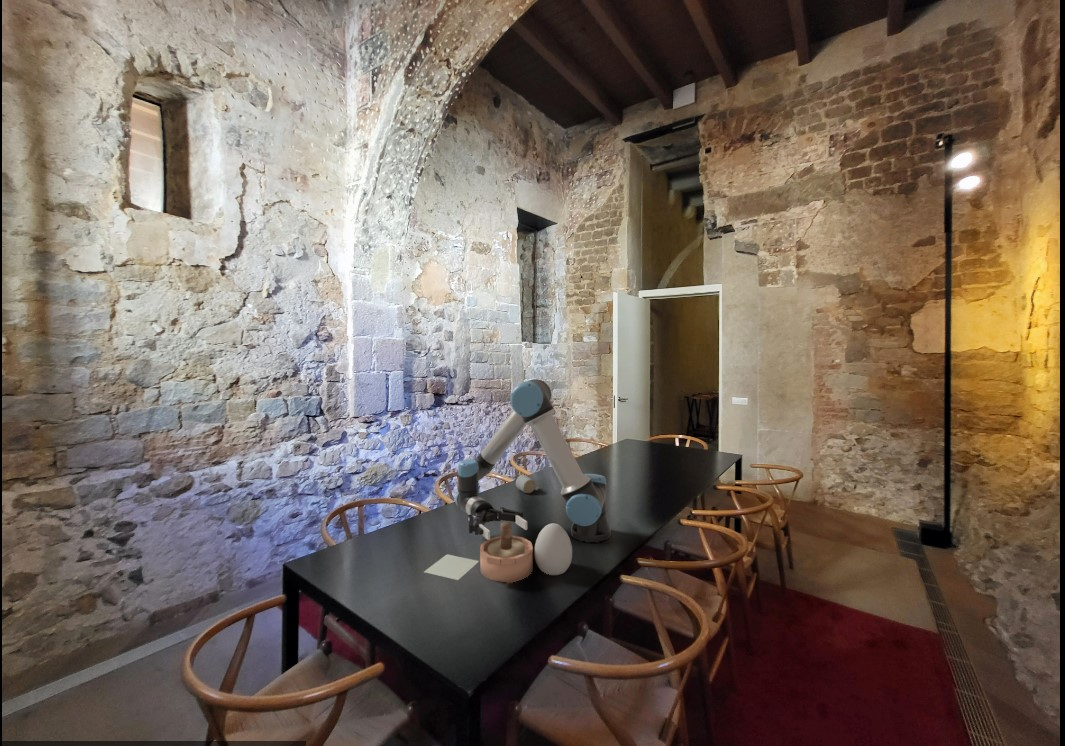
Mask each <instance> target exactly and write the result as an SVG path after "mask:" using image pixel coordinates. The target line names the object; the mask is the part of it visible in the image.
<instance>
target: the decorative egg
mask: <svg viewBox="0 0 1065 746" xmlns="http://www.w3.org/2000/svg"><path fill="white" fill-rule="evenodd" d="M533 553H534V560H535V563H536V566H537V567H538V568H539V570H541V573H543V572H544V574H545V573H546V574H545V575H548V574H549V576H559V575H562V574H564V573H565V572H566V571H567V570H568V569H569V567H570V566H571V563H572V559H573V546H572V542H571V538H570V536H569V534H568V533H567V531H566V530H565V529H564V527H563V526H561V525H560V524H558V523H554V522H553V523H548V524H547V525H545V526H544V527H543V528H542V529H541V530H540V532H539V533H538V535H537V538H536V539H535V544H534V549H533Z"/></svg>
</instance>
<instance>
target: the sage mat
mask: <svg viewBox="0 0 1065 746" xmlns="http://www.w3.org/2000/svg"><path fill="white" fill-rule="evenodd" d="M479 562H480V560H477V559H471V558H466V557H461V556H456V555H452V554H446V555H444V556H443V557H441V558H440V559H439V560H437V561H436V562H435V563H433V564H432V565H431V566H429V567H428V568H426V569H425V570H424V571H423V573H425V574H430V575H434V576H439V577H443V578H448V579H451V580H455V581H459V580H461V578H463V576H465V575H466V574H467V573H468V572H469V571H470V570H472V568H474V567H475V566H476V565H477V564H478V563H479Z"/></svg>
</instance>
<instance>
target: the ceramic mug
mask: <svg viewBox="0 0 1065 746" xmlns="http://www.w3.org/2000/svg"><path fill="white" fill-rule="evenodd" d="M515 487H516V489H518V490H519V491H521V492H522V493H524V494H532V493H533V492H534V491H538V490H539V486H537V485H536V482H535V481H534V480H533V479H532V478H531V477H529V476H527V475H526V474H521V475H519V476H518V477H517V478H516V480H515Z"/></svg>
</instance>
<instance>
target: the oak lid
mask: <svg viewBox="0 0 1065 746" xmlns="http://www.w3.org/2000/svg"><path fill="white" fill-rule="evenodd" d="M512 528H513V527H512V523H511V521H504V522H501V523H500V529H499V530H500V536H501V540H497V541H494V542H492V543H491V544H490V545H489V546H488V554H489V555H491V556H496V557H501V558H504V557H515V556H518V555H520V554H523V553H525V545H524V544H523V543H522V542H520V541H518V540H514V539H512V535H513V534H512V531H513V530H512Z"/></svg>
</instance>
